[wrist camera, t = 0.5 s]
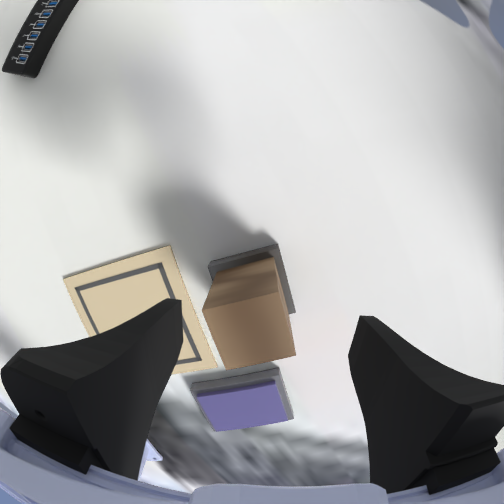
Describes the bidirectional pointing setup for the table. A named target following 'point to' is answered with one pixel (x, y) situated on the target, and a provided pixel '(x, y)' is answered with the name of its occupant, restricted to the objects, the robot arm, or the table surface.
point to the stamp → (250, 308)
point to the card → (139, 300)
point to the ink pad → (244, 400)
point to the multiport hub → (37, 37)
